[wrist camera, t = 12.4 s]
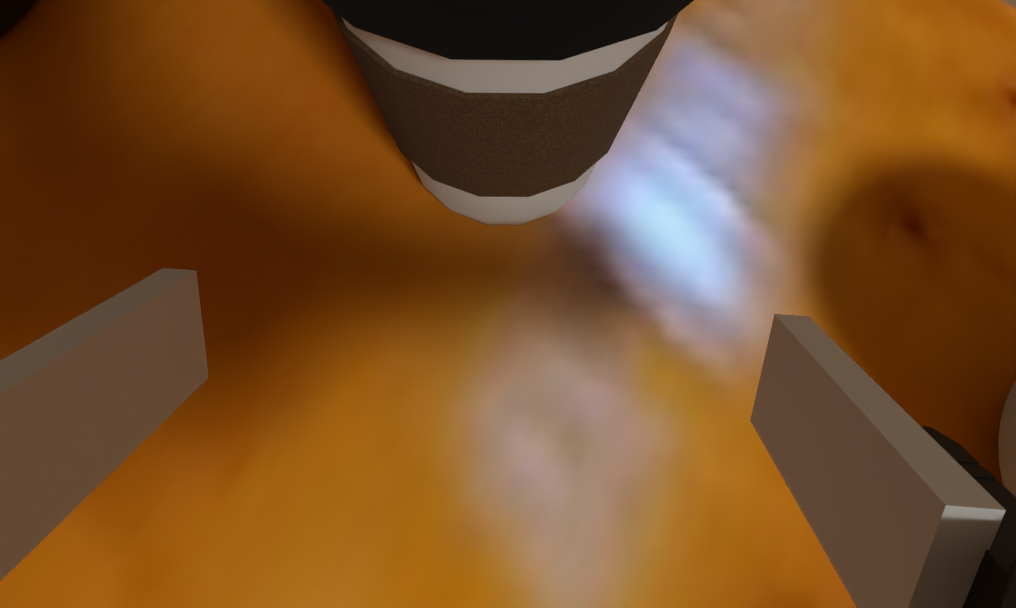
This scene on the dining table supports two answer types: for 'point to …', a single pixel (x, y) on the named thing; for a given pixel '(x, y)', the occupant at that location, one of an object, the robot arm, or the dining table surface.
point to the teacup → (1008, 442)
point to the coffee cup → (505, 91)
